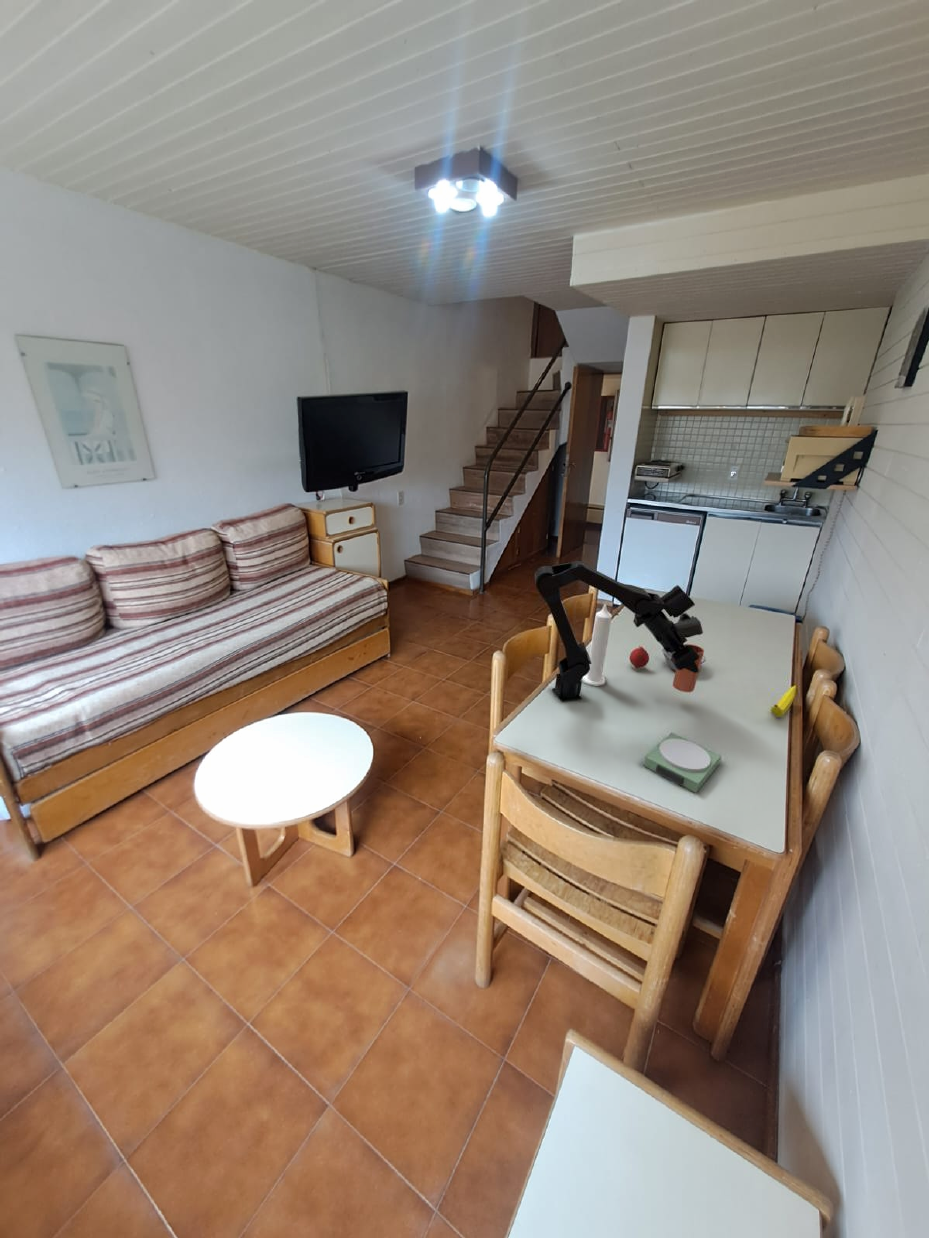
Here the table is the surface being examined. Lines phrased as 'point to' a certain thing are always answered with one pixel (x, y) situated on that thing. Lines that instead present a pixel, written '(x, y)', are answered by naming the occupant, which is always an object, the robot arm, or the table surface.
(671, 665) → the bowl
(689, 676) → the tumbler
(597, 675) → the candle
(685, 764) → the scale
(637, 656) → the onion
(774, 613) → the table surface
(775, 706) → the banana
